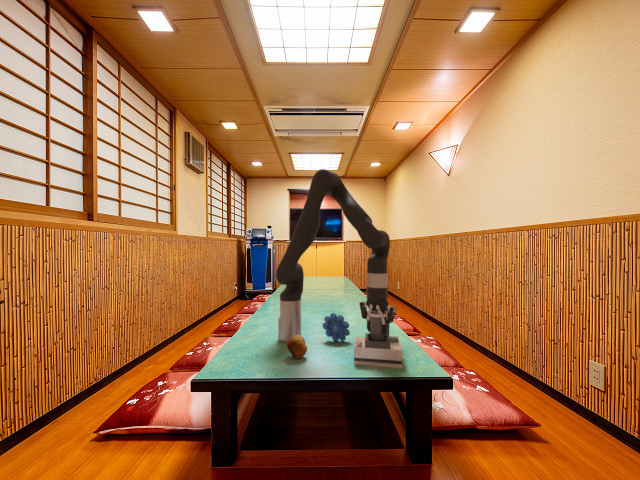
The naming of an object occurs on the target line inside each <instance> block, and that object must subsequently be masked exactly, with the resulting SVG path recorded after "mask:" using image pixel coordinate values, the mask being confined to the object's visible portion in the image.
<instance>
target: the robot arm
mask: <svg viewBox="0 0 640 480" xmlns="http://www.w3.org/2000/svg"><path fill="white" fill-rule="evenodd" d="M307 192H308V193H307V195H306V196H307V197H306V200H305V202H304V205H303V208H302V210H301V211H302V212H301V213H300V215H299V218H298V220H297V223H296V225H295V228H294V231H293V234H292V236H291V239H290V241H289V243H288V246H287V248H286V250H285V253H284V255H283V256H282V259H281V261H280V262H279V264H278V266H277V268H276V273H275V277H276V278H275V279H276V280H277V283H279V284H280V285H285V288H284V289H283V290H282V291H281V292H280V294H279V317H278V321H277V323H278V327H277V328H278V329H277V331H278V335H277V339H278V341H281V342H284V343H286V342H287V341H288V340H289V339H290V338H291V337H292V336H294V335H300V336H302V294H303V292H304V279H305V278H304V275H305V274H304V268H303V266H302V265H301V264H300V263H299V260H300V259H301V257H302V256H303V254H305V252H306V251H307V250H308V249H309V248H310V246H311V245H313V243H314V241H315V239H316V237H317V235H318V232H319V229H320V226H321V207H322V204H323V201H324V198H326V197H325V196H326V195H327V196H328V195H329V196H330V197H331V198H332V199H334V201H335V202H337V204H338V205H339V207H340V208H341V210H342V213H343V215H344V218H346V220H347V221H348V222H349V223H350V225H351V226H352V227H353V229H355V230H356V232H357V233H358V236H359V238H360V239H361V241H362V243H363V244H364V245H365V246H366V247H367V248H368V249H370V250H371V255H370V256H369V257H368V258H367V262H366V271H367V273H366V298H367V299H366V301H364V300H363V301H360V302H359V303H358V304H359V309H360V314H361V318H362V319H365V321H366V330H367V332H369V333H370V312H372V311H377V312H378V313H379V315H380V318H381V321H382V335H385V334H386V333H387V332H388V324H389V325H390V324H391V323H394V319H395V315H396V310H397V307H396V306H395V305H393V306H392V305H391V304H388V303H389V302H388V301H389V300H388V299H389V287H388V286H389V280H388V279H389V278H388V257H389V252H390V248H391V247H390V246H391V245H390V244H391V240H390V235H389V234H388V233H387V232H386V231H385V230H380V229H378V228H377V227H376V226H375V225H374V224H373V219H372V218H371V216H370V215H369V214H368V213H367V212H366V211H365V209H364V208H363V207H362V206H361V205H360V203H359V204H358V202H357V201H356V199H355V198H354V197H353V195H352V194H351V193H350V192H349V190H348V189H347V187H346V185H345V184H344V182H343V181H342V179H341V177H340V176H339V175H338V174H337V173H335V172H333V171H330V170H328V169H325V168H322V169H321V168H320V169H319V170H317V171H316V172H315V174H314V175H313V177H312V179H311V182H310V186H309V189H308V191H307ZM367 307H368V308H367ZM387 308H388V311H389V314H388V318H387V313H386V309H387ZM382 313H385V315H383V314H382Z"/></svg>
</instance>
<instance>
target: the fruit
mask: <svg viewBox="0 0 640 480" xmlns="http://www.w3.org/2000/svg"><path fill="white" fill-rule="evenodd" d="M285 344H286V348H287V349H288V351H289V353H290V355H291V356H293V358H294V359H300V358H303V357H304V356H305V355H306V354H307V352H308V345H307V344H306V339H305V338H304V336H302V335H301V336H300V335H294V336H292V337H291V338H290V339H289V340H288V341H287V342H285Z"/></svg>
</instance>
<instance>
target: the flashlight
mask: <svg viewBox="0 0 640 480" xmlns="http://www.w3.org/2000/svg"><path fill="white" fill-rule="evenodd" d="M382 314H383V315H385V313H382ZM369 333H370V340H377V341H384V335H382V321H381V318H380V315H379V313H378V312H377V311H372V312H370V332H369Z"/></svg>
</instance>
